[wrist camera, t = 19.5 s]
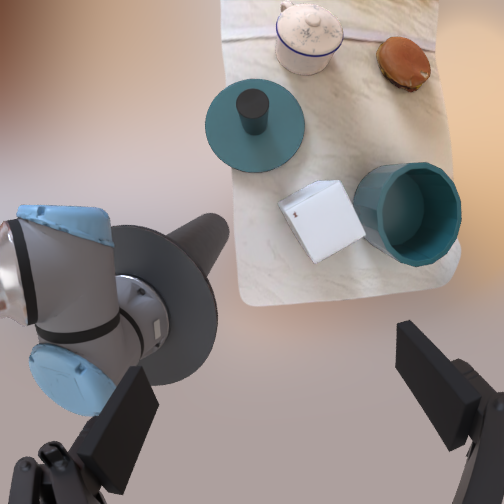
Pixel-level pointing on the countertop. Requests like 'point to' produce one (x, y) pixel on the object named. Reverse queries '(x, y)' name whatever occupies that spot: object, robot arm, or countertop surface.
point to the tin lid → (254, 125)
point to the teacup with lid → (306, 37)
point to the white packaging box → (322, 218)
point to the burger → (403, 63)
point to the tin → (409, 211)
